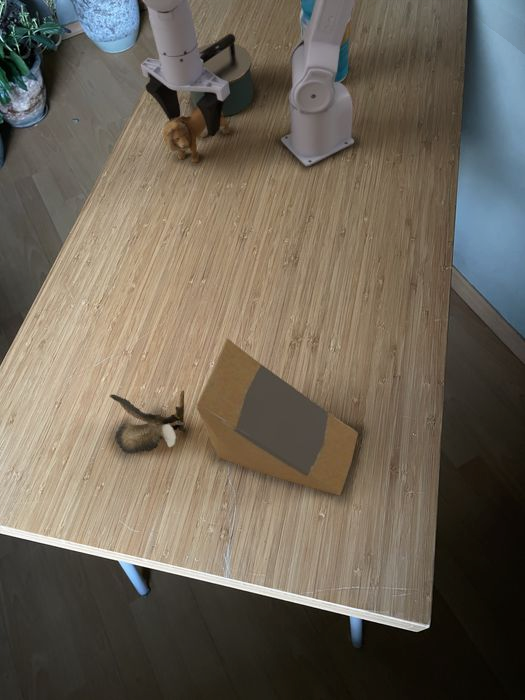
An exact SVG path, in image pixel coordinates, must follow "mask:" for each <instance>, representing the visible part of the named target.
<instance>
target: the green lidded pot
mask: <svg viewBox="0 0 525 700" xmlns="http://www.w3.org/2000/svg"><path fill="white" fill-rule="evenodd" d="M235 42H236V36H235V34H233V33H228V34H226V35H225V36H223V37H221V38H220V39H218V40H217V41H216V42H211V43H208V44H205V45H202V46H200V47H198V49H199V54H200V59H202V60H203V67H205V68H206V69H208V70H209V71H210V72H212V73H213V74H214V75H216V76H217V77H219V78H220V79H222V80H224V81H227V82H228V83H229V90H230V94H229V95H228V96H227V97H226V99H225V102H224V105H223V108H222V113H223V117H227V116H232V115H235V114H237V113H239V112H241V111H243V110H244V109H246V108H247V107H248V106H249V105H250V103H251V102H252V100H253V97H254V87H253V80H252V71H251V67H252V57H251V54H250V52H249V51H248V49H246V48H245V47H243V46H241V45H240V44H236V43H235ZM189 92H190V93H189V94H190V97H191V101H192V105H193V107H194V108H195V109H196V108H197V105H196V103H197V102H198V101H199V100H200V99H201V98H202V97H203V96H204V92H194V91H189Z"/></svg>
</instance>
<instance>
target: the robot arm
mask: <svg viewBox="0 0 525 700" xmlns="http://www.w3.org/2000/svg"><path fill="white" fill-rule="evenodd" d="M141 1H142V3H144V5H145V6H146V7H147V12H148V18H149V23H150V26H151V30H152V35H153V38H154V43H155V46H156V51H157V55H158V59H154V58H150V57H147V58H146V59H145V60H144V61H143V62H142V63H141V64H140V70H141V73H142V75H143V77H144V78H147V79H149V80H148V82H147V83H146V84H145V90H146V92H147V93H148V94H149V95H151V96H152V97H153V99H155V100H156V102H157V103H158V104H159V106H160V107H161V109H162V110H163V112H164V114H165V116H166V117H167V119H168V121H169V120H171V119H174V118H178V117H181V116H182V115H181V107H180V100H179V96H178V92H190V91H194V92H204V96H203V97H202V98H201V99H200V100H199V101H198V102H197V103H196V105H197V107H198V108H199V109H200V111H201V113H202V115H203V117H204V119H205V122H206V127H207V131H208V136H210V137H215V135H216V134H218V132H219V131H220V130H221V126H220V120H221V113H222V108H223V105H224V102H225V99H226V97H227V96H228V95H229V94H230V90H229V83H228V82H227V81H224V80H222V79H220V78H219V77H217V76H216V75H214V74H213V73H212V72H210V71H209V70H208V69H206V68H205V67H203V60H202V59H200V54H199V49H198V48H199V44H198V39H197V34H196V29H195V23H194V18H193V12H192V8H191V6H190V2H189V0H141ZM355 3H356V0H316V1H315V5H314V8H313V12H312V16H311V19H310V23H309V26H308V27H306V28H305V30H304V33H303V36H302V37H301V38H300V40H299V42H298V43H296V45H295V46H294V47H293V49H292V51H291V52H290V53H291V54H290V65H291V80H292V81H291V82H292V83H291V84H292V87H291V89H290V92H289V93H288V100H289V101H288V102H289V104H288V105H289V122H290V133H289V134H286V135H284V136H282V137H281V138H280V141H281V143H282V144H283V145H284V146H285V147H286V148H287V149H288V150H289V151H290V152H291V153H292V154H293V156H295V157H296V158H297V159H298V161H300V162H301V163H302V165H303V166H305V167H310V166H312V165H314V164H316V163H318V162H320V161H322V160H324V159H326V158H328V157H330V156H332V155H334V154H336V153H338V152H340V151H342V150H344V149H346V148H347V147H349V146H352V145H353V144H354V143H355V139H353V137H352V131H353V113H354V110H353V109H354V106H353V105H354V104H353V101H352V97H351V95H350V92H349V90H348V88H347V87H346V86H345V85H344V84H343V83H342V82H334V80H335V76H336V73H337V67H338V59H339V50H340V45H341V42H342V38H343V35H344V32H345V29H346V26H347V23H348V20H349V17H350V14H351V15H352V11H353V8H354V5H355Z"/></svg>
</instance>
